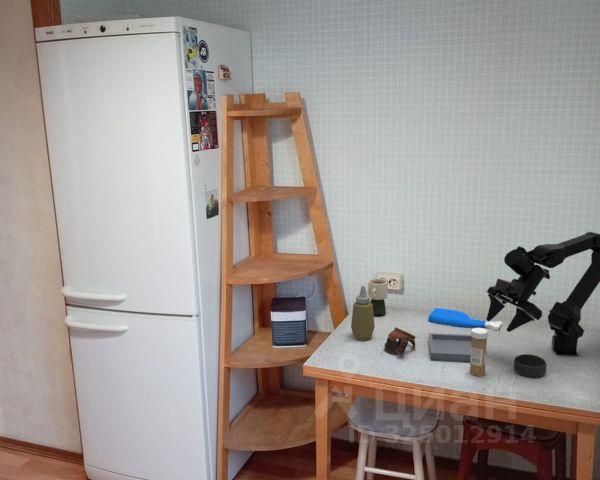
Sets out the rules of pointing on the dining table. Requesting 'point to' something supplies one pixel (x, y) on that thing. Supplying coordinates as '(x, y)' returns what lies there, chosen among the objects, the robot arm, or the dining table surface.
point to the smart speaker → (530, 365)
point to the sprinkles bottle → (478, 351)
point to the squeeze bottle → (362, 316)
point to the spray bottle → (460, 319)
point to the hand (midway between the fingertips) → (497, 325)
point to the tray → (450, 347)
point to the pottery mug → (401, 343)
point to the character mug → (378, 295)
